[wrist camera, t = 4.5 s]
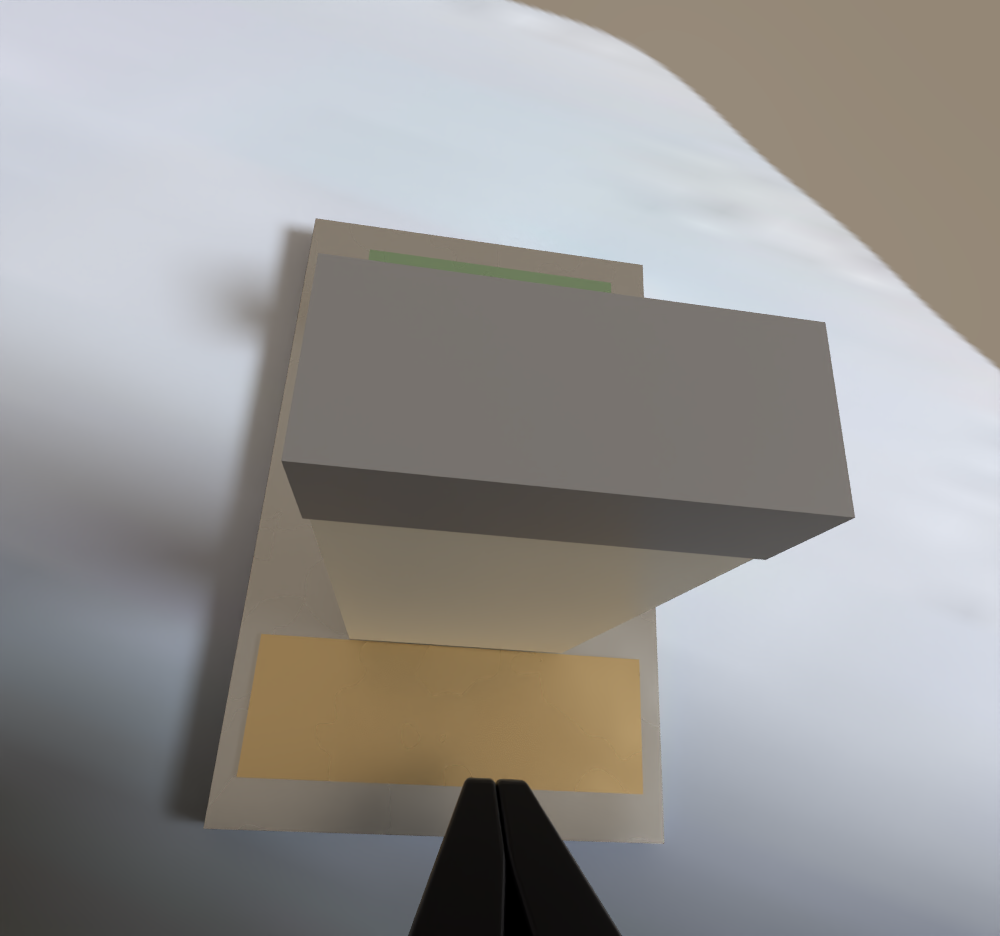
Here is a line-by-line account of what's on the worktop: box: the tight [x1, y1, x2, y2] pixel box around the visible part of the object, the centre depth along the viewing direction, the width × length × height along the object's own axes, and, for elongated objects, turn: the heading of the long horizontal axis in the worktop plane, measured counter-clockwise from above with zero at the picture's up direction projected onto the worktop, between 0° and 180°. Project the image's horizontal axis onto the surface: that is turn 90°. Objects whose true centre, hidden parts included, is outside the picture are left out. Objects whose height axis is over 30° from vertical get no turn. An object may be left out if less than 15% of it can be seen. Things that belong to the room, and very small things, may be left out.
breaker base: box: [204, 219, 664, 844], centre depth 17 cm, size 16×10×4 cm, turn 177°
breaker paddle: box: [281, 253, 855, 653], centre depth 11 cm, size 2×5×11 cm, turn 87°
